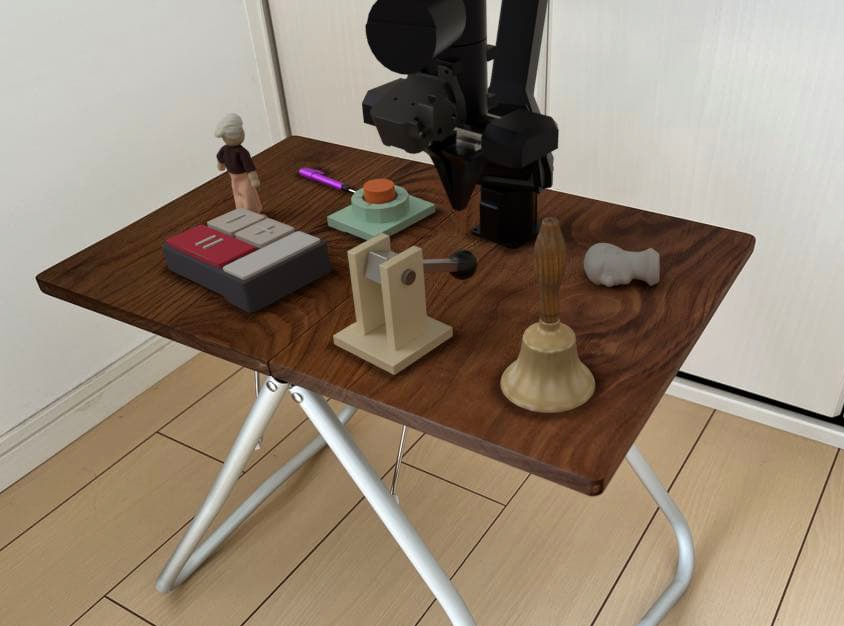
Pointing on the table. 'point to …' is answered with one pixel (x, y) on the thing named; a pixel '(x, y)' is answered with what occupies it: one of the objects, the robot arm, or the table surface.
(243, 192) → the grandmother figurine
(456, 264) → the lever
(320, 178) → the purple fountain pen
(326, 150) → the table surface
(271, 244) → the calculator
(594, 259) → the smooth white sculpture
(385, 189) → the button
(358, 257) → the bracket
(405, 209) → the button box
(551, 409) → the hand bell
